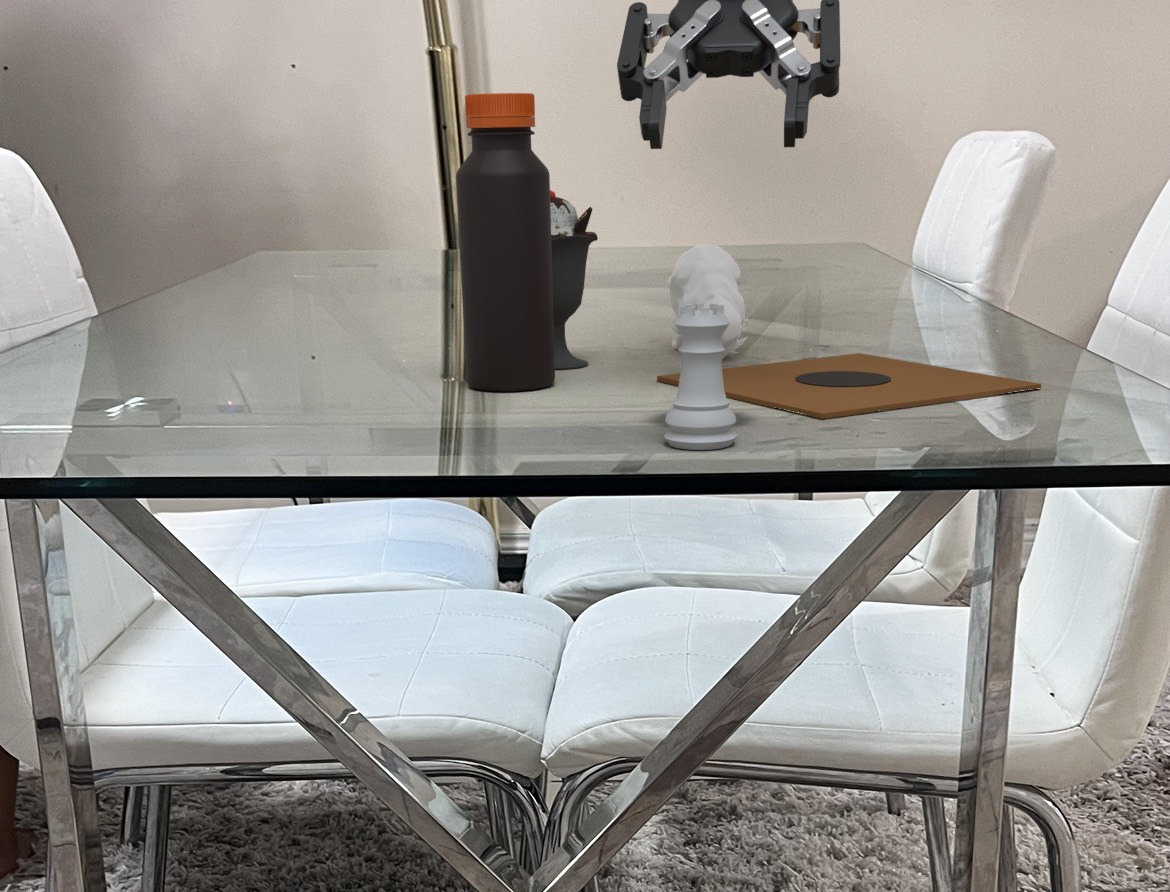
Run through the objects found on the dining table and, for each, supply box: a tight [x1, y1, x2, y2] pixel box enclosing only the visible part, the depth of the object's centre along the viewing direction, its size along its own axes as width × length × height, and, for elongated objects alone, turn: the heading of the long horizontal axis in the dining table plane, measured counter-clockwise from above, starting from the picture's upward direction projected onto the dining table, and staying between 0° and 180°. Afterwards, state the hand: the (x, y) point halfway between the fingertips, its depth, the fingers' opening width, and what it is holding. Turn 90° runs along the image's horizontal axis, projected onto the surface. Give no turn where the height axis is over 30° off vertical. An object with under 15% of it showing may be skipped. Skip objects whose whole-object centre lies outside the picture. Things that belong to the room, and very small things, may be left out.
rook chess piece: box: [663, 304, 738, 451], centre depth 84 cm, size 4×4×8 cm
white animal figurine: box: [667, 243, 748, 360], centre depth 119 cm, size 6×8×12 cm
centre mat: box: [656, 352, 1042, 420], centre depth 104 cm, size 20×20×1 cm
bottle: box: [455, 92, 556, 393], centre depth 103 cm, size 7×7×20 cm
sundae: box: [550, 189, 599, 371], centre depth 113 cm, size 7×7×15 cm
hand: (721, 138), depth 89 cm, fingers open, 8 cm apart
